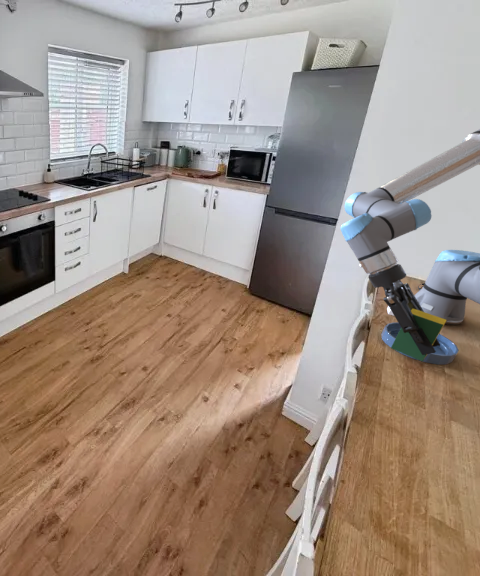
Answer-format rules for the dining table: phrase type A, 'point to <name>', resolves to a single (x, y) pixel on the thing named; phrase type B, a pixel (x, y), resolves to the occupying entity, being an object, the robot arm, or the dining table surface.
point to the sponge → (430, 328)
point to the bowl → (441, 356)
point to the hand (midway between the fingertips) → (431, 349)
